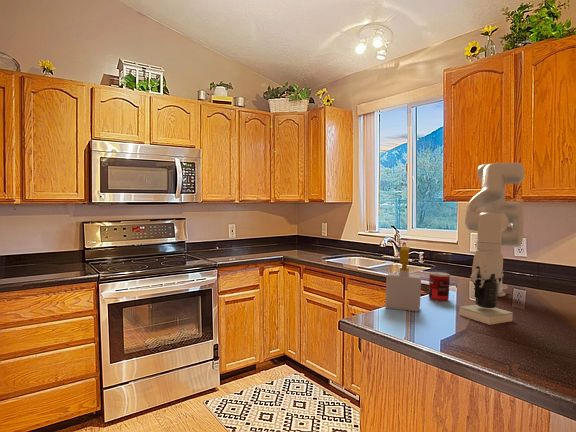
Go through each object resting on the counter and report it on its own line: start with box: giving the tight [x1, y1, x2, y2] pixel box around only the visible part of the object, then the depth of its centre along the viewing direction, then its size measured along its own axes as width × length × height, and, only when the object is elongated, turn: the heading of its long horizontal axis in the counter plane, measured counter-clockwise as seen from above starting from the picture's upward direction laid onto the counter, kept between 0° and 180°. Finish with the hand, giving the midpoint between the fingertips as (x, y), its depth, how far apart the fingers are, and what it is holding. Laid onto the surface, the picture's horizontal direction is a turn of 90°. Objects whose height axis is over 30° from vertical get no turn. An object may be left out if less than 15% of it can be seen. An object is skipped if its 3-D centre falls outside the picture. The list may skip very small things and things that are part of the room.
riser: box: [458, 304, 514, 325], centre depth 136 cm, size 12×12×3 cm
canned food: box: [428, 271, 451, 302], centre depth 162 cm, size 8×8×11 cm
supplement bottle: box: [474, 274, 498, 308], centre depth 136 cm, size 7×7×12 cm
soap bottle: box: [385, 246, 422, 313], centre depth 145 cm, size 12×7×23 cm, turn 68°
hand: (486, 296), depth 136 cm, fingers closed on supplement bottle, 6 cm apart
